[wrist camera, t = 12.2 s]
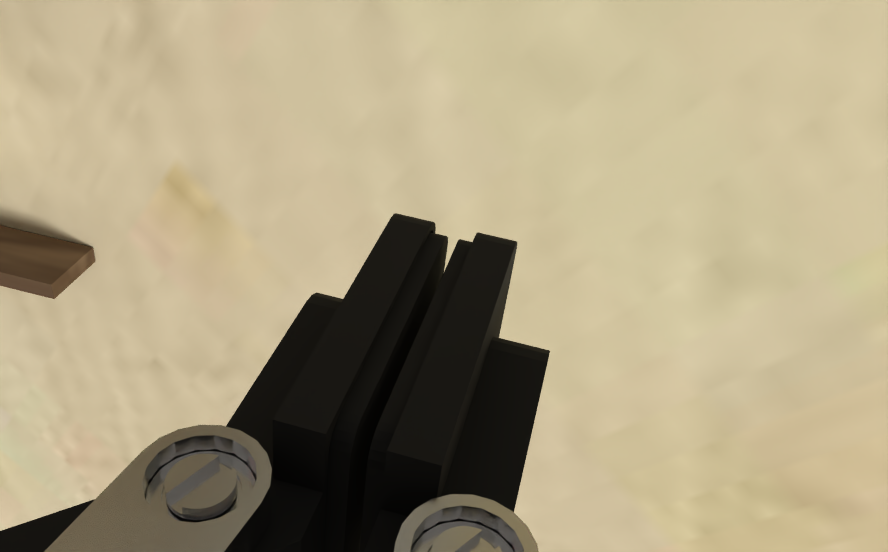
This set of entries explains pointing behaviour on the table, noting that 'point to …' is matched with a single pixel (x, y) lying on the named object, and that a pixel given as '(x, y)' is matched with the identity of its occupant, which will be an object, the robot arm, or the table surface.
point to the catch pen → (40, 262)
